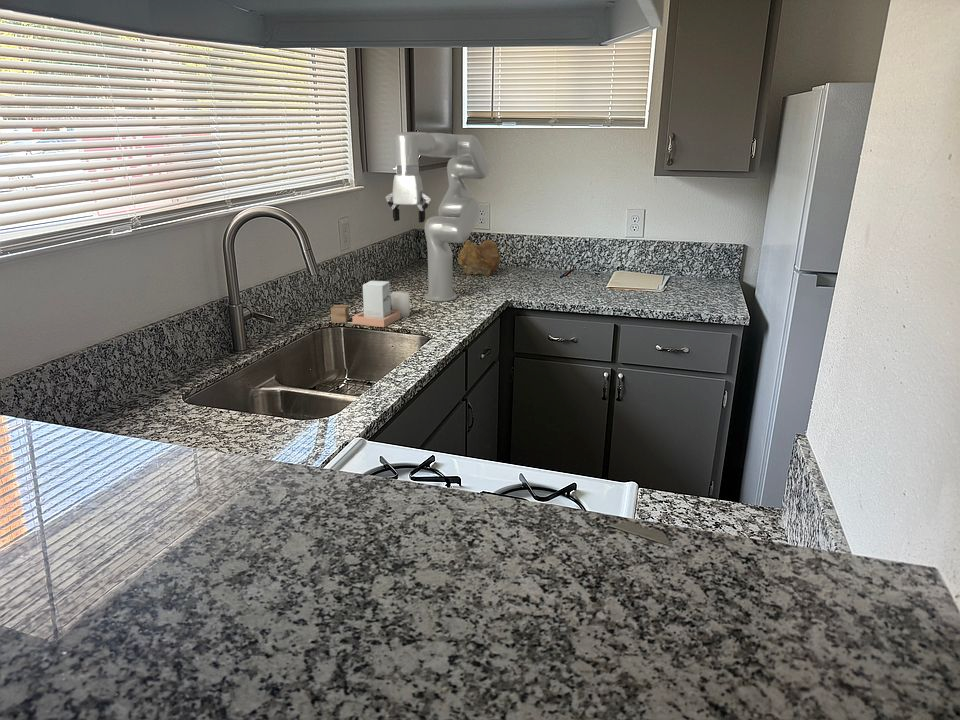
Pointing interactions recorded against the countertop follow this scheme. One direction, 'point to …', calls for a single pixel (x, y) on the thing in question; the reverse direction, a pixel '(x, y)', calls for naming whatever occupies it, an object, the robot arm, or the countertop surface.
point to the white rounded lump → (401, 302)
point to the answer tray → (376, 319)
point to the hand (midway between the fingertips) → (409, 221)
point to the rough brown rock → (479, 258)
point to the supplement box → (376, 299)
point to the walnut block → (340, 313)
